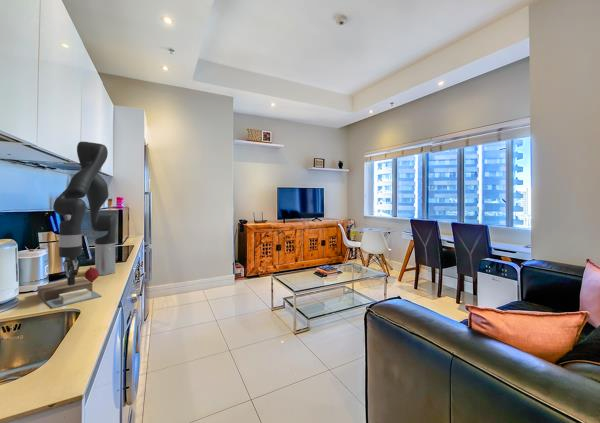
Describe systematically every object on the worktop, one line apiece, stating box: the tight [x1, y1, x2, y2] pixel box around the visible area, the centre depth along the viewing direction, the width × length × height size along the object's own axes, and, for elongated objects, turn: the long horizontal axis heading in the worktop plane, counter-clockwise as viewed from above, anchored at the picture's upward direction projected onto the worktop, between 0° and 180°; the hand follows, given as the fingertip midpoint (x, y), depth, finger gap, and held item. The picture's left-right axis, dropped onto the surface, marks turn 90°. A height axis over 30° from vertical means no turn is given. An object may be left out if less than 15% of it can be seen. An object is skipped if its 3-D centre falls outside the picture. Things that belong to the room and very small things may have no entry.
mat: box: [45, 290, 102, 309], centre depth 112 cm, size 10×16×1 cm, turn 145°
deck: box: [37, 277, 93, 303], centre depth 118 cm, size 12×16×4 cm
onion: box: [84, 265, 100, 283], centre depth 135 cm, size 6×6×8 cm
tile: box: [59, 289, 91, 304], centre depth 111 cm, size 6×9×2 cm, turn 145°
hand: (71, 284), depth 114 cm, fingers closed
